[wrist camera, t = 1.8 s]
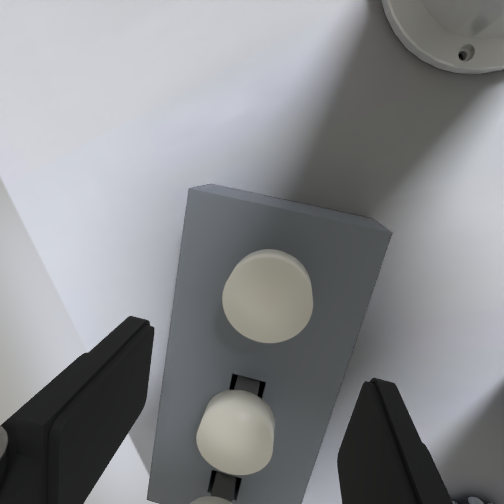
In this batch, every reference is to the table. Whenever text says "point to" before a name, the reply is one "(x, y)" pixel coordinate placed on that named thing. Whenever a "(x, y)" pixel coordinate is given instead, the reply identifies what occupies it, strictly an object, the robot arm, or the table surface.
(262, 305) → the knob
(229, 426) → the knob middle
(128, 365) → the robot arm
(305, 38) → the table surface
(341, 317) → the control panel
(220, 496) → the knob
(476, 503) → the bottle
